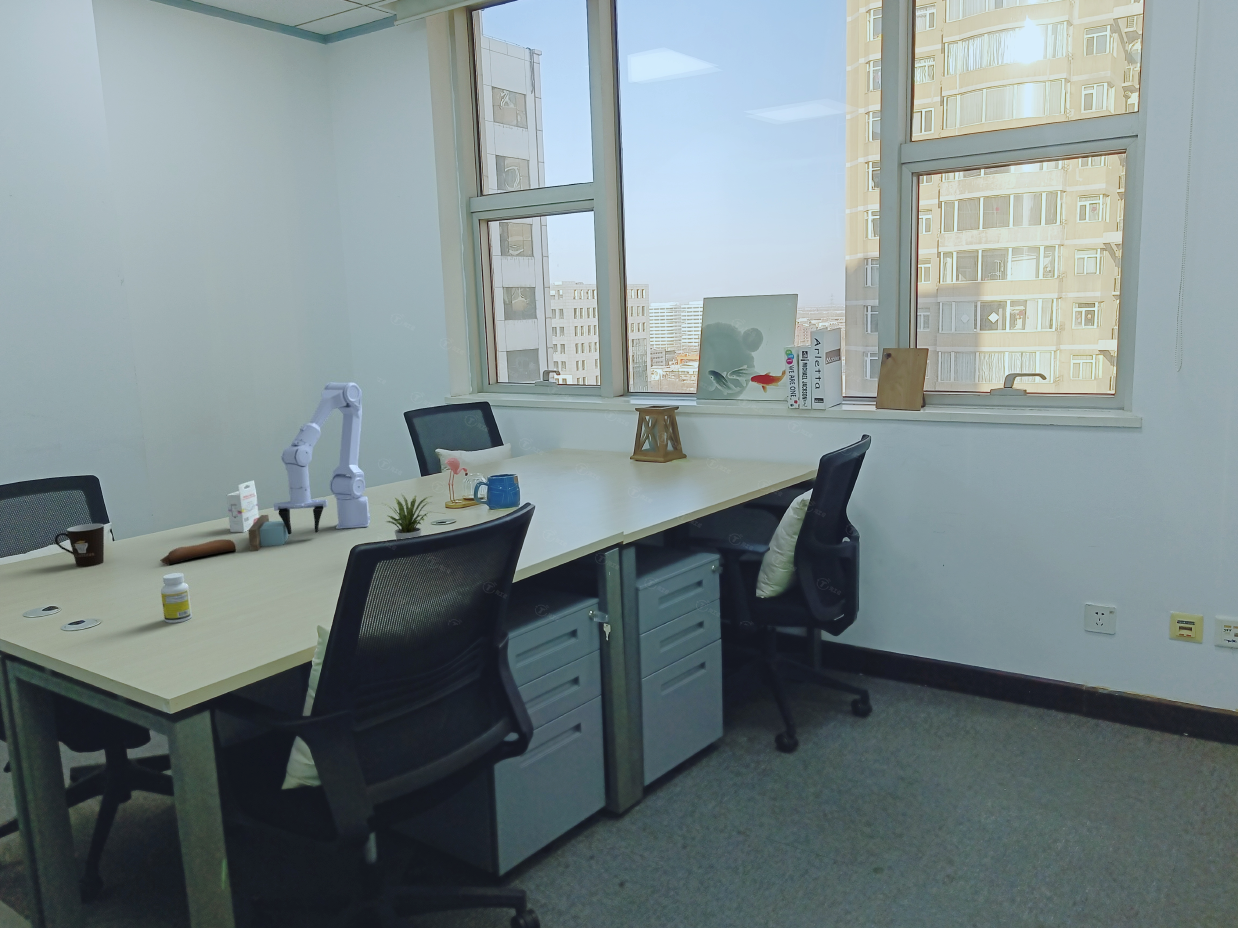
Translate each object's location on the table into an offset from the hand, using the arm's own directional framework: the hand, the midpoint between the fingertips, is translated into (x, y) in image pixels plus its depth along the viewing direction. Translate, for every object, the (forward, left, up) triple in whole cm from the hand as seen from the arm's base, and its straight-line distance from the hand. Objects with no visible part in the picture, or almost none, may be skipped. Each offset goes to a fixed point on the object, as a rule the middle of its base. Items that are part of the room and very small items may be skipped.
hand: (303, 532), depth 268 cm
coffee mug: (+55, +10, -2) cm, 56 cm away
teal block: (+8, 0, -2) cm, 8 cm away
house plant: (-32, +26, -2) cm, 41 cm away
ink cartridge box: (+20, -20, -2) cm, 28 cm away
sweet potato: (+26, +12, -3) cm, 29 cm away
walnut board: (+12, 0, -2) cm, 12 cm away
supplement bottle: (+17, +69, -2) cm, 71 cm away
